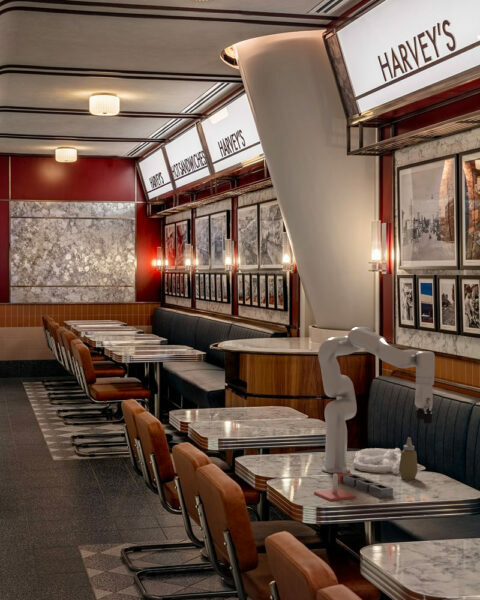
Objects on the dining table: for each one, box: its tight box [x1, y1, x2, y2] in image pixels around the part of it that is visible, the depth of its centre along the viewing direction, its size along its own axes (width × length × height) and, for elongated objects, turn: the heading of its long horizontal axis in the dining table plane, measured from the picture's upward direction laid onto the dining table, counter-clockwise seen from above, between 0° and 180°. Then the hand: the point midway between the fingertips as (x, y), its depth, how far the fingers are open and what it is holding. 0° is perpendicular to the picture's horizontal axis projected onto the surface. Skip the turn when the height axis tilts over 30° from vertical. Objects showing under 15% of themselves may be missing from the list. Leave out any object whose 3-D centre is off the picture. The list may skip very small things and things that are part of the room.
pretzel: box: [352, 447, 402, 475], centre depth 405 cm, size 28×24×6 cm
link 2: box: [355, 478, 380, 494], centre depth 362 cm, size 8×6×4 cm
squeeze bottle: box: [399, 436, 419, 481], centre depth 384 cm, size 8×8×18 cm
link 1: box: [342, 473, 367, 489], centre depth 370 cm, size 8×6×4 cm
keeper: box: [313, 473, 357, 502], centre depth 351 cm, size 12×12×9 cm
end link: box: [368, 483, 394, 499], centre depth 354 cm, size 8×6×4 cm
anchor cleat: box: [336, 466, 353, 484], centre depth 376 cm, size 4×7×6 cm, turn 118°
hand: (423, 421), depth 371 cm, fingers open, 9 cm apart
